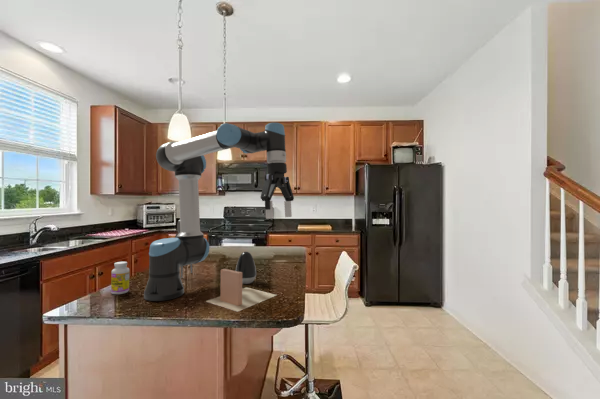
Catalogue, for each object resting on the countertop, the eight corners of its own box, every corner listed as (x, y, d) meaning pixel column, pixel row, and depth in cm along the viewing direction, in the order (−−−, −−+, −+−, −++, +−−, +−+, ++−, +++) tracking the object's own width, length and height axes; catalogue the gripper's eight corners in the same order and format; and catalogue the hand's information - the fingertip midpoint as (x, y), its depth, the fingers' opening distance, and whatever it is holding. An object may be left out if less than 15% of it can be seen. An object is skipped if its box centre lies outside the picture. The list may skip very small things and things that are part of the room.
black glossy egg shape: (255, 279, 143) (255, 249, 143) (256, 285, 133) (257, 253, 133) (235, 280, 141) (235, 250, 141) (234, 286, 131) (235, 253, 131)
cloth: (237, 313, 98) (237, 311, 98) (205, 303, 109) (205, 301, 109) (277, 296, 117) (277, 294, 117) (246, 289, 127) (246, 287, 127)
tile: (238, 305, 104) (238, 273, 104) (220, 300, 110) (220, 269, 110) (242, 304, 106) (242, 272, 106) (224, 298, 112) (224, 268, 112)
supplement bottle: (107, 294, 118) (107, 264, 118) (118, 289, 125) (118, 260, 125) (122, 295, 118) (122, 264, 118) (132, 290, 125) (133, 261, 125)
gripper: (266, 157, 97) (269, 219, 96) (300, 166, 119) (302, 216, 118) (248, 160, 100) (251, 219, 99) (285, 168, 122) (287, 216, 121)
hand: (279, 217), depth 108 cm, fingers open, 13 cm apart
